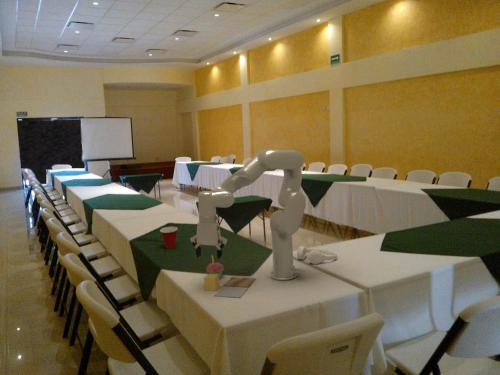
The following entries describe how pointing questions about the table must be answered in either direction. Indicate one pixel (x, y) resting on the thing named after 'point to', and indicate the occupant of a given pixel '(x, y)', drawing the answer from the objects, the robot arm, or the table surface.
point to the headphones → (315, 255)
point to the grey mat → (231, 292)
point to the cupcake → (215, 268)
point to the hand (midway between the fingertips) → (209, 257)
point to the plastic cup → (169, 236)
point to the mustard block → (211, 282)
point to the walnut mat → (240, 282)
